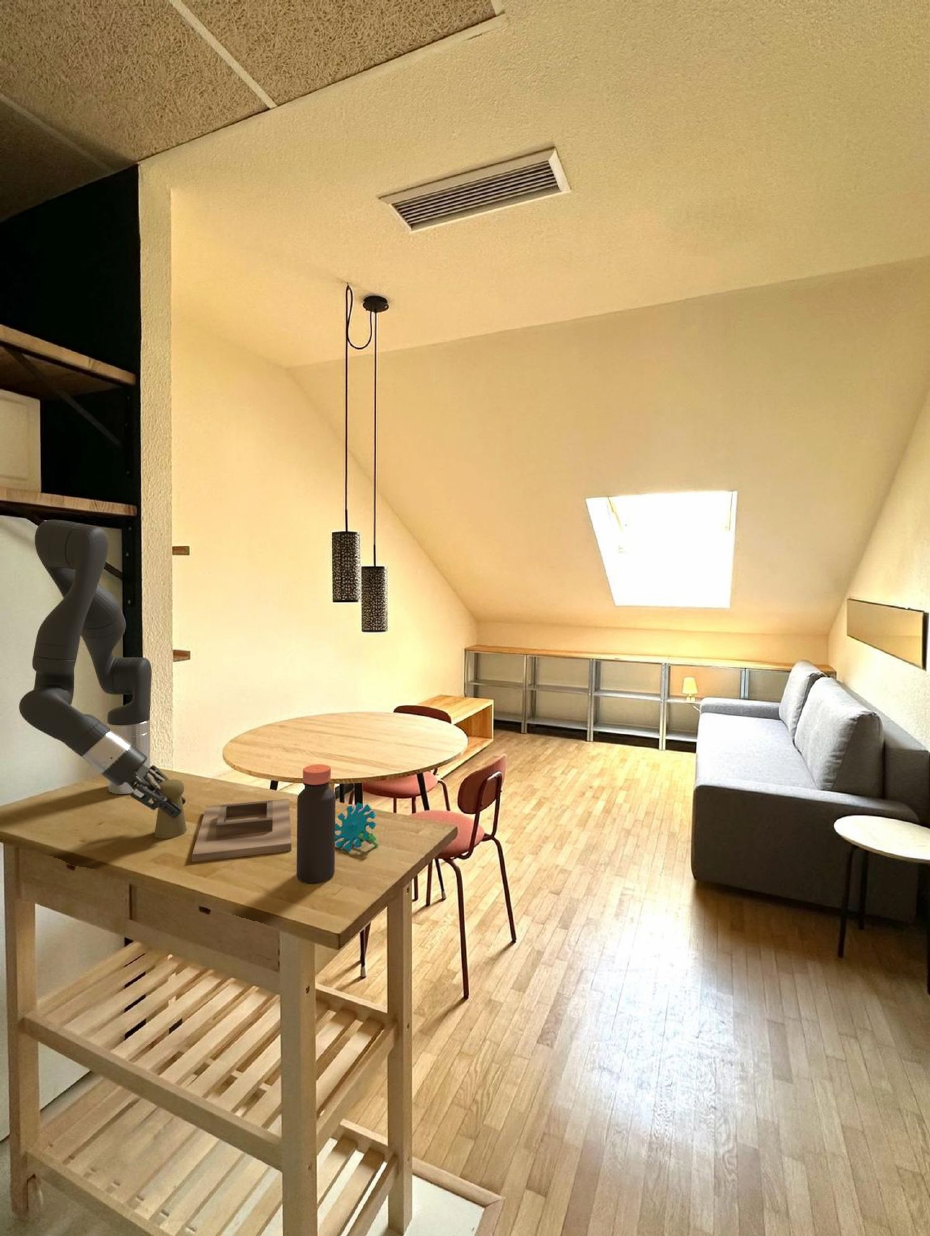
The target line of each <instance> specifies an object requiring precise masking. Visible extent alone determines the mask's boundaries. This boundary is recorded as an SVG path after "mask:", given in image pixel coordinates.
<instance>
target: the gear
mask: <svg viewBox="0 0 930 1236" xmlns="http://www.w3.org/2000/svg"><path fill="white" fill-rule="evenodd" d="M345 810H346V812H347V813H346V815H345V814H344V813H340V814H339V815H338V816H337V818H338V820H339V821H341V826H340V825H339V824H338V823H336V822H335V832H337V831H340V833H339V834H337V833H335V847H336V848H337V849H339V850H341V849H342V848H343V849H344V850H345V851H347V852H351V851H352V848H353V846H354V847H355V848H356V849H358V848H359V849H360V848H361V847H362V845H363V844H362V841H365V842H366V843H367V844H369V845H374V847H376V848H378V847H379V846H380V845H379V843H378V842H377V841H376V839H377V836H376V834H374V833H373V832H369V831H368V830H367V827H368V828H369V829H371V830H374V829H375V828H376V826H377V824H376V823H375V821H373V820H374V819H376V812H375V811H374V810H372V807H371V806H370V805H369V804H368V803H367V804H365V805H364V804H362V803H360V802H356V804H355V809H354V807H353V805H349V806H347V807H346V809H345ZM367 812H368V813H367ZM366 813H367V814H366ZM369 818H370V819H371V820H372V821H368V819H369ZM341 839H342V840H341ZM361 840H362V841H361Z"/></svg>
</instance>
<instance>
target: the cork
mask: <svg viewBox="0 0 930 1236" xmlns="http://www.w3.org/2000/svg"><path fill="white" fill-rule="evenodd" d="M159 786H160V787H161V788H162V793H163V794H164V795H165V796H166V797H167V798H168V799H170V800H171V801H172V802H174V803H175V804H176V805H177V806H179V807H180V808H181V809H182V811H181V813H180V814H179V815H178V816H177V817H176V818H172V817H171V816H169V815H168V814H167V813H165V812H164V811H163V810H162V809H160V808H159V809H157V813H156V820H155V828H154V837H156V838H158V839H173V838H176V837H180V836H182V835H184V834H185V833H186V832H187V824H186V817H185V811H184V804H183V803H182V797H183V796H182V795H183V794H184V792H185V785H184V782H183V781H182V780H180V779H175V778H173V779H169V780H166V781H163V782H161V783H160V784H159ZM181 796H182V797H181Z"/></svg>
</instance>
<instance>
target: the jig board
mask: <svg viewBox="0 0 930 1236" xmlns="http://www.w3.org/2000/svg"><path fill="white" fill-rule="evenodd" d="M290 812H291V811H290V799H289V798H282V799H281V798H280V799H271V800H260V801H248V802H238V803H225V804H217V805H207V806H206V808H205V810H204V813H203V817H202V820H201V824H200V827H199V829H198V830H199V831H198V834H197V837H196V840H195V844H194V848H193V851H192V855H191V857H192V858H191V862H192V863H196V862H197V863H198V862H206V861H215V860H221V859H230V858H238V857H248V856H256V855H264V854H265V855H267V854H271V853H273V854H274V853H282V852H290V851H292V832H291V817H290V814H291V813H290Z"/></svg>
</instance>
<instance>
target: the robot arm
mask: <svg viewBox="0 0 930 1236" xmlns="http://www.w3.org/2000/svg"><path fill="white" fill-rule="evenodd" d="M34 546H35V550H36V554H37V557H38V559H39V561H40V562H41V564H42V566H43V568H44V569H45V570H46V571H47V573H48V575H49V576H50V577H51V579H52V581H53V583H54V584H55V586H56V587H57V588H58V590H59V592H60V594H61V596H62V599H61V601H60V602H59V603H58V604H57V605H56V606H55V607H54V608H53V609H52V610H51V611H50V612H49V613H48V615H47V616H46V617H45V618H44V619H43V621H42V622H41V624H40V626H39V629H38V630H37V633H36V639H35V645H34V647H33V648H34V650H33V653H32V659H31V660H32V661H31V665H32V669H33V670H34V671H35V677H34V678H35V679H34V686H33V689H32V690H30V691H27V693H26V694H24V695H23V696H22V698H21V699H20V701H19V705H18V709H19V713H20V716H21V717H22V719H23V720H24V721H26V723H28V724H29V725H31V726H32V727H33V728H35V729H36V730H38V731H40V732H42V733H44V734H46V735H48V736H49V737H51V738H54V739H55V740H58V741H59V742H62V743H63V744H65V746H67V747H68V748H69V749H70V750H72V751H73V752H74V753H75V754H76V755H78V756H79V757H80V758H82V759H83V760H84V761H85V762H86V764H88V765H89V766H90V767H92V769H94V770H95V771H96V772H97V773H99V774H100V775H101V776H102V777H104V778H106V780H107V782H108V783H107V788H108V790H109V791H108V792H109V793H110V792H112V793H111V794H113V793H114V794H115V795H127V794H129V796H130V797H131V798H133V799H134V800H136V801H138V802H139V803H140V804H142V805H144V806H145V807H147V808H149V809H151V810H153V811H155V810H158V809H159V808H160V809H162V810H163V811H164V812H165V813H167V814H168V815H169V816H171V817H172V818H176V817H177V816H178V815H179V814H180V813H181V811H182V809H181V808H180V807H179V806H177V805H176V804H175V803H174V802H172V801H171V800H170V799H168V798H167V797H166V796H165V795H164V794H163V793H162V788H161V787H160V786H159V784H160V783H161V782H163V781H166V780H170V779H169V778H168V776H166V775H165V774H164V773H163V772H162V771H161V770H160V769H159V768H158V767H157V766H156V765H154V764H152V765H151V699H152V698H151V694H152V677H153V674H152V673H153V672H152V671H153V670H152V664H151V662H150V660H149V659H148V658H146V657H117V656H115V655H114V654H113V651H114V649H115V647H116V646H117V645H118V644H119V642H120V641H121V639H122V638H123V635H124V634H125V631H126V627H127V622H126V619H125V616H124V613H123V610H122V607H121V605H120V603H119V601H118V600H117V598H116V597H115V596H114V595H113V594H112V593H111V592H110V591H109V590H108V589H106V588H105V586H103V585H102V584H101V582H100V580H101V578H102V574H103V572H104V569H105V566H106V562H107V559H108V553H109V550H110V549H109V548H110V547H109V546H110V544H109V537H108V535H107V533H106V531H105V530H104V529H103V528H101V527H99V526H96V525H90V524H85V523H80V522H74V521H68V520H61V519H49V520H45V521H43V522H41V523H40V524H39V525H38V526H37V528H36V530H35V535H34ZM81 638H82V640H83V642H84V645H85V646H86V649H87V651H88V653H89V656H90V658H91V661H92V665H93V668H94V671H95V674H96V678H97V681H98V683H99V684H98V685H99V686H100V688H101V690H102V691H103V692H104V693H106V694H108V695H114V696H115V695H117V696H118V695H121V696H123V695H132V699H131V700H130V702H129V703H126V704H124V705H121V706H118V707H115V708H112V709H110V710H109V711H108V713H107V716H106V717H107V719H106V720H107V725H106V724H105V723H104V722H102V721H101V720H100V719H98V718H97V717H96V716H93V715H92V714H89V713H82V712H81V711H79V710H78V709H77V708H76V707H74V706H72V704H73V700H74V693H75V667H76V663H77V658H78V654H79V648H80V647H79V646H80V643H81V642H80V641H81ZM114 794H113V795H114ZM181 797H182V803H183V805H185V803H186V802H187V799H186V798H185V797H183V796H182V795H181Z"/></svg>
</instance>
